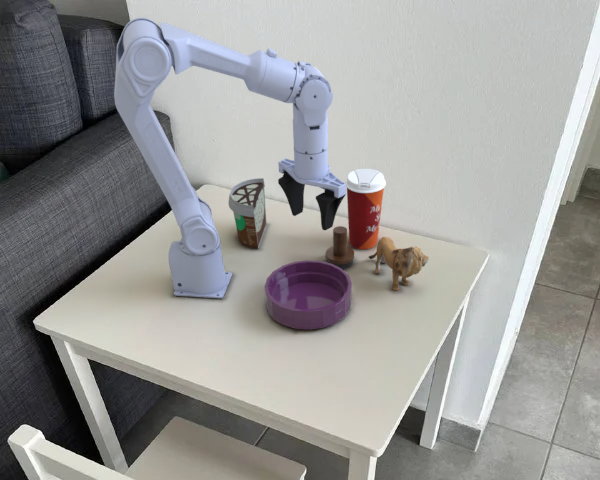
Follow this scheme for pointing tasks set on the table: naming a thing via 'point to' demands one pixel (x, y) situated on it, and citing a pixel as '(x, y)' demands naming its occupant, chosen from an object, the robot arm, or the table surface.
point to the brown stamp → (340, 249)
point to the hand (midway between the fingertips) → (312, 220)
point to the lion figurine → (399, 260)
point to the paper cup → (364, 206)
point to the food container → (249, 211)
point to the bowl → (308, 294)
